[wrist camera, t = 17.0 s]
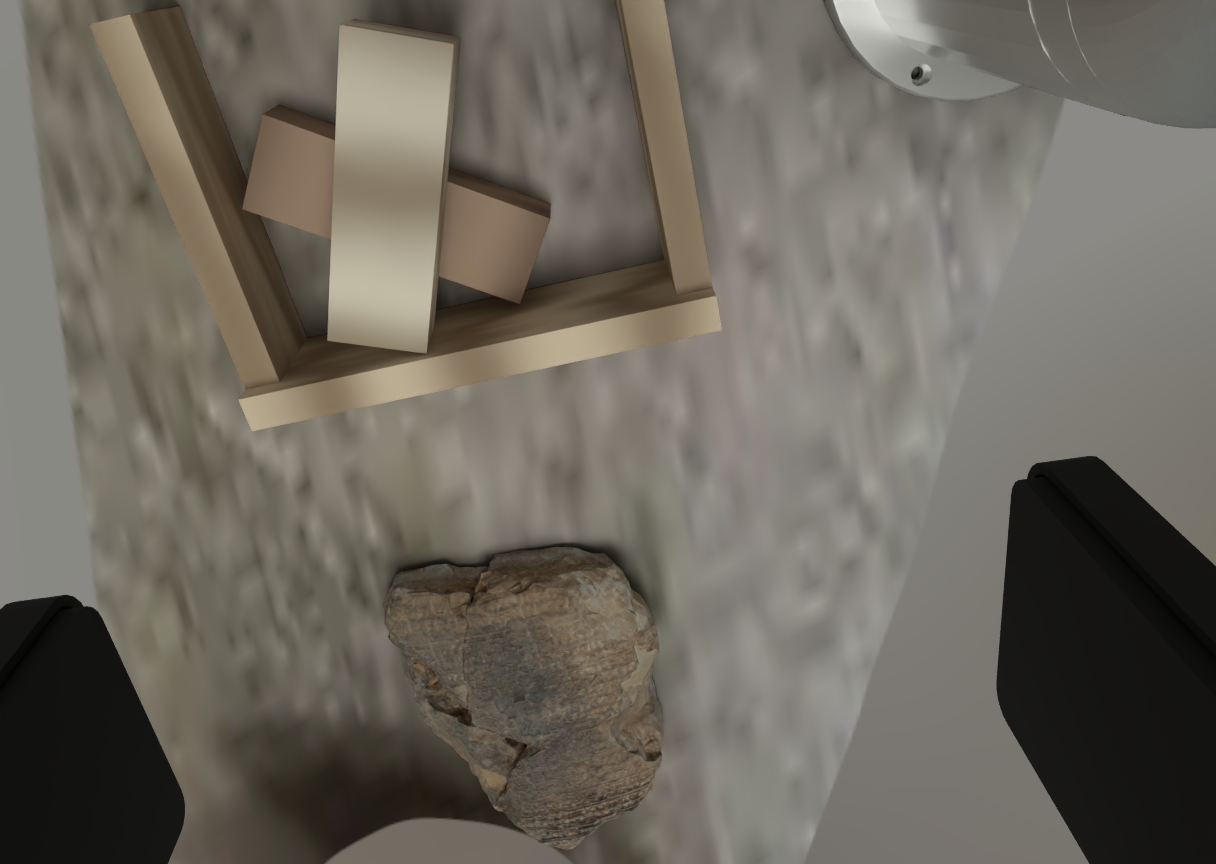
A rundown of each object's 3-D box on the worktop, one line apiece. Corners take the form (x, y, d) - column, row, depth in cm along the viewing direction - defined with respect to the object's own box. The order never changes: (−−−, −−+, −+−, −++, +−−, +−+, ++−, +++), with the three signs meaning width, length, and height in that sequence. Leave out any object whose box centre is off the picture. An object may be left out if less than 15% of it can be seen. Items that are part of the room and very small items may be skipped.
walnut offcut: (550, 201, 43) (550, 218, 40) (521, 282, 44) (519, 304, 42) (282, 103, 40) (262, 114, 38) (262, 192, 42) (242, 209, 39)
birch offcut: (434, 327, 42) (426, 353, 39) (341, 315, 42) (327, 340, 39) (460, 37, 37) (453, 44, 34) (354, 18, 36) (339, 24, 34)
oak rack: (634, -104, 37) (648, -111, 32) (701, 283, 44) (721, 330, 39) (143, 15, 38) (76, 26, 33) (287, 374, 45) (252, 431, 40)
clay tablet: (685, 788, 60) (640, 524, 50) (693, 856, 55) (646, 581, 46) (464, 817, 60) (379, 562, 51) (455, 886, 56) (361, 621, 47)
